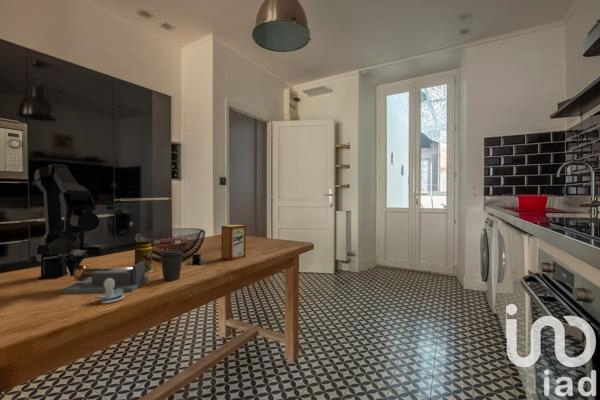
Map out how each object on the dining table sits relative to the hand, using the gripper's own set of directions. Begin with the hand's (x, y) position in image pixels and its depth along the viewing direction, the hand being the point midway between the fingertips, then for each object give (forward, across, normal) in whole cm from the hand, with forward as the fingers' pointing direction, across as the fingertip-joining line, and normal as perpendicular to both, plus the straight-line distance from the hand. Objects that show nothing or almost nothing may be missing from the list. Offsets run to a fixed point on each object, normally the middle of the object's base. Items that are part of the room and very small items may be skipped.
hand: (72, 275), depth 94 cm
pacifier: (+3, +18, -13) cm, 23 cm away
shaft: (+1, +11, 0) cm, 11 cm away
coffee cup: (+2, +29, +8) cm, 30 cm away
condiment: (+3, +14, +19) cm, 24 cm away
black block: (+3, +32, +32) cm, 46 cm away
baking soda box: (+1, +47, +42) cm, 63 cm away
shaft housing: (+3, +11, 0) cm, 11 cm away
